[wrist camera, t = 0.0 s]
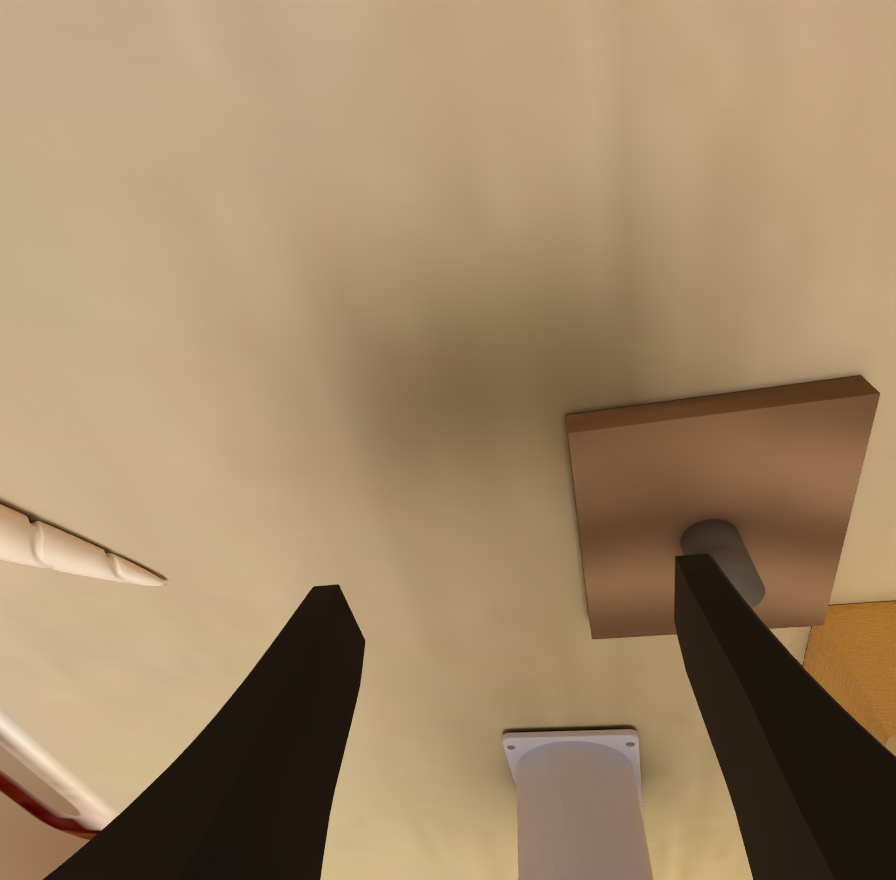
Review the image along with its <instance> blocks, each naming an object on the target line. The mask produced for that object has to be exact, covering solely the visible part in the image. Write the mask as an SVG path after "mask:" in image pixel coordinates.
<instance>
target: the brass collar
mask: <svg viewBox="0 0 896 880" xmlns="http://www.w3.org/2000/svg"><path fill="white" fill-rule="evenodd" d="M803 668H804V669H805V670H806V671H807V672H808V673H809V674H810V675H811V676H812V677H813V678H814V679H815V680H816V681H817V682H818V683H819V684H820V685H821V686H822V687H823V688H824V689H825V690H826V691H827V692H828V693H829V694H830V695H831V696H832V697H833V698H834V699H835V700H836V701H837V702H838V703H839V704H840V705H841V706H842V707H843V708H844V709H845V710H846V711H847V712H848V713H849V714H850V715H851V716H852V717H853V718H854V719H855V720H856V721H857V722H858V723H859V724H861V725H862V726H863V727H864V728H865V729H866V730H867V731H868V732H869V733H870V734H871V735H872V736H874V737H875V738H876V739H877V740H878V741H879V742H880V743H881V744H882V745H883V746H884V747H886V748H887V749H888V750H889V751H890V752H891V753H892V754H894V755H895V756H896V601H890V602H875V603H860V604H845V605H830V606H828V609H827V613H826V617H825V621H824V625H821V626H812V628H811V632H810V637H809V641H808V646H807V650H806V654H805V659H804V663H803Z"/></svg>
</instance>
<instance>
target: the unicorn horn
mask: <svg viewBox="0 0 896 880" xmlns="http://www.w3.org/2000/svg"><path fill="white" fill-rule="evenodd" d="M0 559H1V560H6V561H11V562H16V563H21V564H26V565H31V566H36V567H41V568H53V569H55V570H57V571H62V572H68V573H73V574H78V575H83V576H89V577H94V578H100V579H106V580H112V581H118V582H131V583H134V584H139V585H150V586H162V585H166V584H165V582H164V581H162V580H161V579H160V578H159V577H157V576H156V575H154V574H152V573H151V572H149V571H147V570H145V569H143V568H141V567H139V566H138V565H136V564H134V563H132V562H130V561H128V560H125V559H123V558H121V557H119V556H117V555H115V554H113V553H107V554H105V552H104V550H103V549H101V548H100V547H98V546H95V545H93V544H91V543H89V542H86V541H84V540H82V539H80V538H78V537H75V536H73V535H71V534H69V533H66V532H64V531H62V530H60V529H57V528H55V527H53V526H50V525H48V524H46V523H43V522H41V521H35V522H34V523H30V522H29V520H28V517H27V516H26V515H24V514H22V513H20V512H18V511H15V510H13V509H11V508H9V507H6V506H4V505H2V504H0Z"/></svg>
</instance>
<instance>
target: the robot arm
mask: <svg viewBox="0 0 896 880" xmlns="http://www.w3.org/2000/svg"><path fill="white" fill-rule="evenodd" d="M674 623H675V627H676V631H677V635H678V640H679V644H680V648H681V652H682V656H683V660H684V664H685V668H686V672H687V675H688V678H689V680H690V683H691V686H692V689H693V692H694V695H695V697H696V700H697V703H698V706H699V709H700V711H701V714H702V717H703V720H704V723H705V725H706V728H707V731H708V734H709V737H710V739H711V742H712V745H713V748H714V751H715V753H716V756H717V759H718V762H719V764H720V767H721V770H722V773H723V776H724V778H725V781H726V784H727V787H728V790H729V793H730V796H731V800H732V803H733V806H734V809H735V812H736V816H737V820H738V823H739V827H740V831H741V835H742V838H743V842H744V846H745V850H746V854H747V857H748V861H749V865H750V869H751V872H752V876H753V880H896V756H895V755H894V754H892V753H891V752H890V751H889V750H888V749H887V748H886V747H884V746H883V745H882V744H881V743H880V742H879V741H878V740H877V739H876V738H875V737H874V736H872V735H871V734H870V733H869V732H868V731H867V730H866V729H865V728H864V727H863V726H862V725H861V724H859V723H858V722H857V721H856V720H855V719H854V718H853V717H852V716H851V715H850V714H849V713H848V712H847V711H846V710H845V709H844V708H843V707H842V706H841V705H840V704H839V703H838V702H837V701H836V700H835V699H834V698H833V697H832V696H831V695H830V694H829V693H828V692H827V691H826V690H825V689H824V688H823V687H822V686H821V685H820V684H819V683H818V682H817V681H816V680H815V679H814V678H813V677H812V676H811V675H810V674H809V673H808V672H807V671H806V670H805V669H804V668H803V666H802V665H801V664H800V663H799V662H798V661H797V660H796V659H795V658H794V657H793V656H792V655H791V654H790V652H789V651H788V650H787V649H786V648H785V647H784V646H783V644H782V643H781V642H780V641H779V640H778V639H777V638H776V636H775V635H774V634H773V633H772V632H771V631H770V630H769V629H768V627H767V626H766V625H765V624H764V623H763V622H762V620H761V619H760V618H759V617H758V616H757V614H756V613H755V612H754V611H753V610H752V608H751V607H750V606H749V605H748V603H747V602H746V601H745V600H744V598H743V597H742V596H741V595H740V593H739V592H738V591H737V590H736V588H735V587H734V586H733V584H732V583H731V582H730V580H729V579H728V578H727V576H726V575H725V574H724V572H723V571H722V569H721V568H720V567H719V565H718V564H717V562H716V561H715V560H714V558H713V557H712V556H710V555H709V554H708V553H706V554H694V555H682V556H675V595H674ZM364 648H365V639H364V637H363V635H362V633H361V631H360V629H359V626H358V624H357V622H356V620H355V618H354V616H353V614H352V612H351V610H350V608H349V605H348V603H347V601H346V599H345V597H344V595H343V593H342V591H341V589H340V586H339V585H327V586H315V587H313V588H312V589H311V591H310V592H309V593H308V595H307V596H306V597H305V599H304V600H303V601H302V603H301V604H300V606H299V607H298V608H297V610H296V611H295V612H294V614H293V615H292V617H291V618H290V619H289V621H288V622H287V624H286V625H285V626H284V628H283V629H282V631H281V632H280V633H279V635H278V636H277V637H276V639H275V640H274V642H273V643H272V644H271V646H270V647H269V648H268V650H267V651H266V652H265V654H264V655H263V656H262V658H261V659H260V660H259V662H258V663H257V664H256V666H255V667H254V668H253V670H252V671H251V672H250V674H249V675H248V676H247V678H246V679H245V680H244V681H243V683H242V684H241V685H240V686H239V688H238V689H237V690H236V691H235V693H234V694H233V695H232V696H231V697H230V699H229V700H228V701H227V702H226V704H225V705H224V706H223V707H222V709H221V710H220V711H219V712H218V713H217V715H216V716H215V717H214V718H213V719H212V720H211V722H210V723H209V724H208V725H207V726H206V727H205V729H204V730H203V731H202V732H201V733H200V734H199V735H198V736H197V738H196V739H195V740H194V741H193V742H192V743H191V744H190V745H189V746H188V747H187V748H186V749H185V750H184V752H183V753H182V754H181V755H180V756H179V757H178V758H177V759H176V760H175V761H174V762H173V763H172V764H171V765H170V766H169V767H168V768H167V769H166V770H165V771H164V772H163V773H162V774H161V775H160V776H159V777H158V778H157V779H156V780H155V781H154V782H153V783H152V784H151V785H150V786H149V787H148V788H147V789H146V790H145V791H144V792H143V793H142V794H141V795H140V796H139V797H137V798H136V799H135V800H134V801H133V802H132V803H131V804H130V805H129V806H128V807H127V808H126V809H125V810H124V811H123V812H122V813H121V814H120V815H118V816H117V817H116V818H115V819H114V820H113V821H112V822H111V823H109V824H108V825H107V826H106V827H105V828H104V829H103V830H102V831H101V832H99V833H98V834H97V835H96V836H95V837H94V838H92V839H91V840H90V841H89V842H88V843H87V844H85V845H84V846H83V847H82V848H81V849H80V850H78V852H76V853H75V854H74V855H73V856H72V857H70V858H69V859H68V860H67V861H65V862H64V863H63V864H62V865H61V866H59V867H58V868H57V869H56V870H54V871H53V872H52V873H51V874H49V875H48V876H47V877H45V878H44V879H43V880H320V877H321V870H322V862H323V856H324V849H325V842H326V836H327V829H328V823H329V816H330V811H331V806H332V801H333V796H334V791H335V787H336V783H337V779H338V775H339V771H340V767H341V763H342V759H343V755H344V750H345V746H346V742H347V738H348V734H349V730H350V726H351V722H352V718H353V714H354V709H355V705H356V701H357V697H358V692H359V688H360V682H361V674H362V667H363V657H364ZM502 744H503V748H504V751H505V754H506V757H507V760H508V764H509V767H510V770H511V773H512V777H513V780H514V783H515V786H516V790H517V824H518V880H653V874H652V869H651V863H650V858H649V852H648V846H647V841H646V835H645V830H644V824H643V818H642V813H641V807H642V793H641V773H640V753H639V737H638V733H637V732H636V731H635V730H632V729H616V730H583V731H551V732H518V733H506V734H504V735H503V736H502Z"/></svg>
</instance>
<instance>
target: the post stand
mask: <svg viewBox="0 0 896 880" xmlns="http://www.w3.org/2000/svg"><path fill="white" fill-rule="evenodd" d="M879 396H880V393H879V392H878V391H877V390H876V389H875V388H874V387H873V386H872V385H871V384H870V383H869V382H868V381H866V380H865V379H864V378H863V377H862V376H854V377H846V378H839V379H831V380H824V381H817V382H809V383H802V384H794V385H787V386H779V387H772V388H764V389H757V390H750V391H742V392H735V393H727V394H720V395H712V396H705V397H697V398H690V399H683V400H675V401H668V402H660V403H653V404H645V405H638V406H630V407H623V408H616V409H608V410H601V411H593V412H586V413H578V414H571V415H565V417H566V425H567V434H568V442H569V451H570V459H571V468H572V477H573V485H574V494H575V502H576V511H577V519H578V528H579V537H580V545H581V554H582V562H583V571H584V579H585V588H586V597H587V605H588V614H589V621H590V628H591V635H592V639H606V638H622V637H639V636H655V635H672V634H677V631H676V627H675V623H674V595H675V556H682V555H694V554H706V553H708V554H709V555H710V556H712V557H713V558H714V560H715V561H716V562H717V564H718V565H719V567H720V568H721V569H722V571H723V572H724V574H725V575H726V576H727V578H728V579H729V580H730V582H731V583H732V584H733V586H734V587H735V588H736V590H737V591H738V592H739V593H740V595H741V596H742V597H743V598H744V600H745V601H746V602H747V603H748V605H749V606H750V607H751V608H752V610H753V611H754V612H755V613H756V614H757V616H758V617H759V618H760V619H761V620H762V622H763V623H764V624H765V625H766V626H767V627H768V629H771V628H788V627H805V626H821V625H824V621H825V617H826V613H827V609H828V604H829V600H830V596H831V592H832V588H833V584H834V580H835V576H836V572H837V568H838V564H839V560H840V555H841V551H842V547H843V543H844V539H845V535H846V531H847V527H848V523H849V519H850V515H851V510H852V506H853V502H854V498H855V494H856V490H857V486H858V482H859V478H860V474H861V470H862V466H863V461H864V457H865V453H866V449H867V445H868V441H869V437H870V433H871V429H872V425H873V421H874V417H875V412H876V408H877V404H878V400H879Z"/></svg>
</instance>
